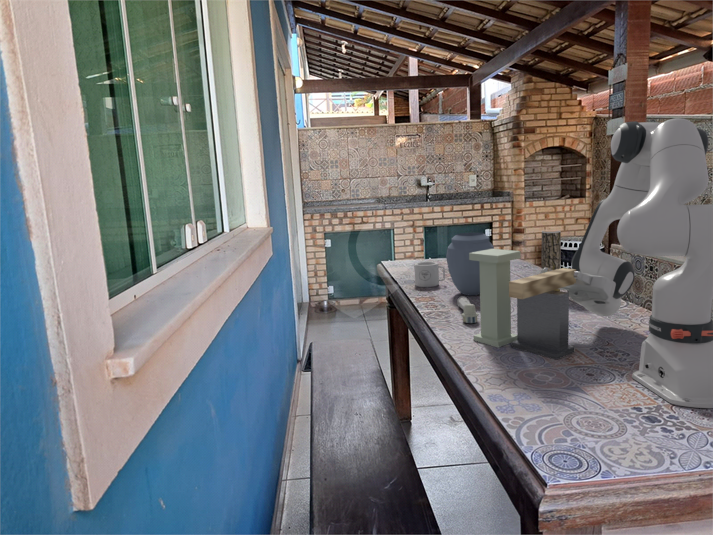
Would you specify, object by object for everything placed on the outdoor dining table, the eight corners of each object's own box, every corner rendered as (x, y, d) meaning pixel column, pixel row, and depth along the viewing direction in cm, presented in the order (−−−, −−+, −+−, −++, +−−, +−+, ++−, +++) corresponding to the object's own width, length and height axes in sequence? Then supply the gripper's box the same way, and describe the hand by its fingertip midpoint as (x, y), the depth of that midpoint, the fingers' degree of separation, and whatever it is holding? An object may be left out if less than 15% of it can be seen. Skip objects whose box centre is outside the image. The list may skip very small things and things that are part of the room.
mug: (413, 287, 228) (412, 265, 226) (417, 282, 238) (416, 261, 236) (443, 287, 224) (442, 265, 222) (446, 282, 234) (446, 261, 232)
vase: (437, 294, 211) (435, 235, 207) (467, 286, 223) (465, 230, 219) (476, 301, 196) (474, 238, 192) (505, 292, 208) (505, 232, 204)
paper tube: (561, 296, 196) (562, 231, 192) (543, 296, 197) (543, 232, 193) (558, 292, 203) (558, 229, 198) (540, 292, 204) (540, 230, 200)
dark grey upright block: (529, 340, 148) (528, 284, 145) (574, 352, 136) (575, 291, 133) (511, 347, 143) (510, 289, 140) (556, 359, 132) (557, 297, 129)
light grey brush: (469, 295, 191) (478, 302, 166) (469, 313, 191) (479, 322, 166) (454, 296, 191) (462, 302, 167) (455, 313, 192) (463, 323, 167)
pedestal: (493, 333, 157) (492, 248, 152) (521, 340, 149) (520, 251, 144) (471, 340, 151) (469, 253, 146) (498, 348, 143) (497, 255, 138)
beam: (562, 281, 146) (563, 267, 145) (575, 283, 143) (576, 269, 142) (509, 296, 132) (508, 281, 131) (522, 299, 129) (522, 283, 128)
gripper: (555, 275, 158) (531, 258, 150) (621, 283, 141) (599, 265, 133) (549, 294, 157) (524, 278, 149) (615, 304, 141) (592, 287, 133)
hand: (560, 272), depth 141 cm, fingers open, 8 cm apart
